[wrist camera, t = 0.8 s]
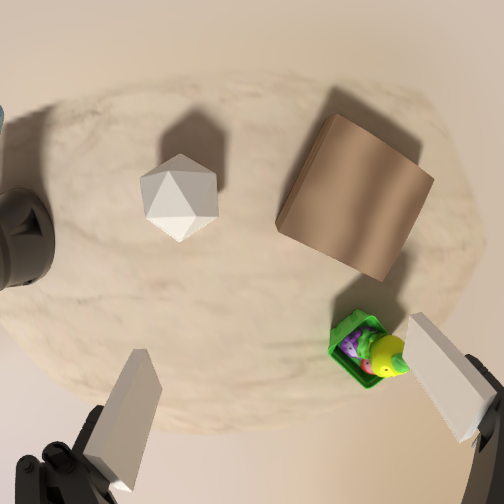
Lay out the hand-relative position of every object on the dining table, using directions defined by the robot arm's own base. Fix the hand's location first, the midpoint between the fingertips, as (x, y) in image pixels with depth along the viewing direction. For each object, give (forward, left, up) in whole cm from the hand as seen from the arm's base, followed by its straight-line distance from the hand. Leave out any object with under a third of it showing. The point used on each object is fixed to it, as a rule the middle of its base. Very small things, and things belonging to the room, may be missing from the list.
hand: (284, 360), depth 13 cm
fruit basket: (+19, -7, -23) cm, 31 cm away
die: (-11, +1, -23) cm, 25 cm away
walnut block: (+7, +9, -23) cm, 26 cm away
